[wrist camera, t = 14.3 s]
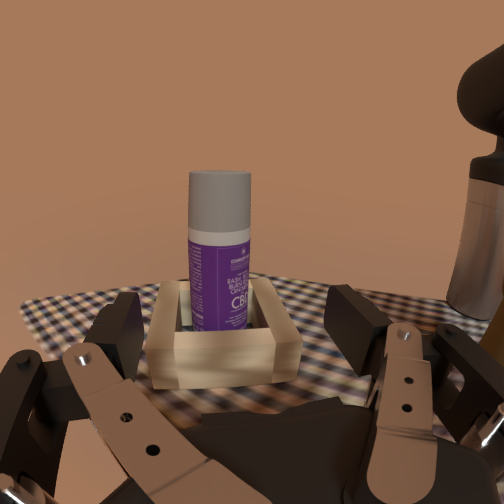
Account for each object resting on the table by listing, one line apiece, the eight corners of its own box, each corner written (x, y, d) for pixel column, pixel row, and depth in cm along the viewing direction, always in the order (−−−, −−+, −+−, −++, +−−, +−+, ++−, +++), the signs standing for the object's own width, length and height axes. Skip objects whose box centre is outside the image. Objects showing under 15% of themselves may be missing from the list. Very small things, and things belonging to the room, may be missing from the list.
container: (241, 366, 22) (246, 174, 17) (187, 357, 23) (177, 173, 18) (250, 335, 27) (256, 171, 22) (202, 328, 27) (199, 170, 22)
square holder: (266, 311, 31) (268, 278, 30) (296, 380, 21) (303, 340, 19) (164, 315, 29) (161, 281, 28) (153, 388, 19) (144, 348, 17)
